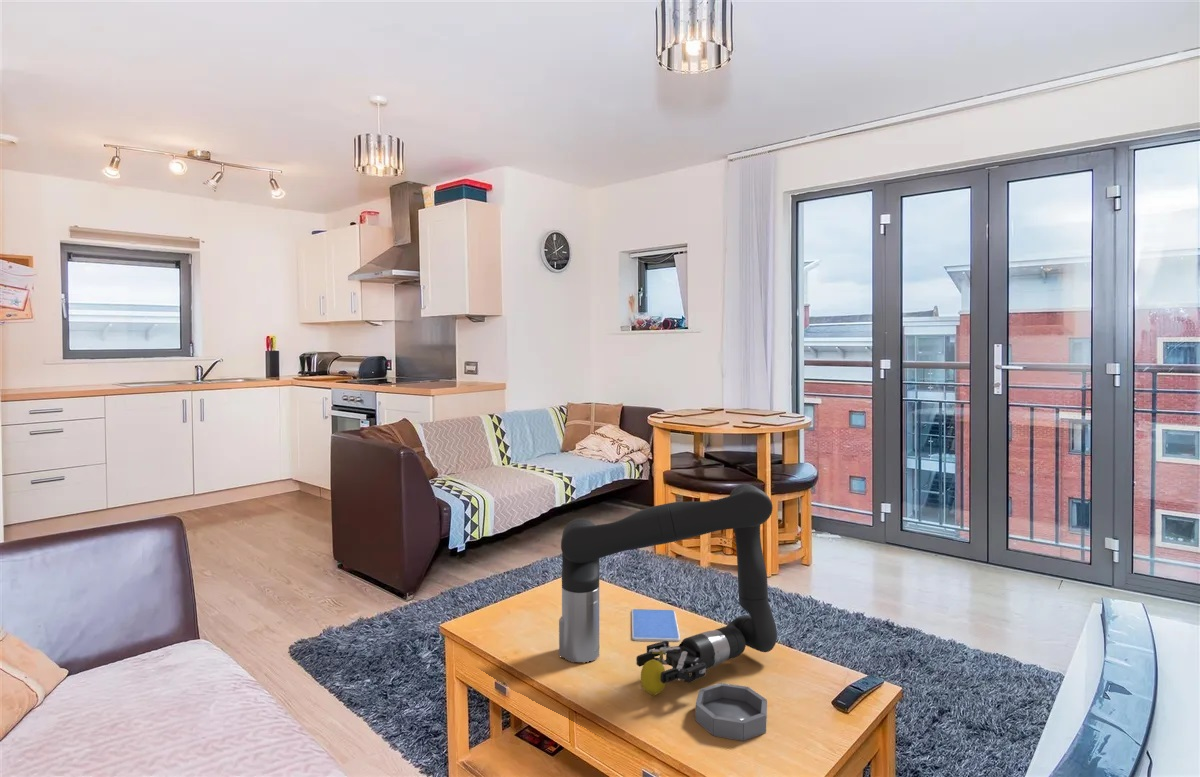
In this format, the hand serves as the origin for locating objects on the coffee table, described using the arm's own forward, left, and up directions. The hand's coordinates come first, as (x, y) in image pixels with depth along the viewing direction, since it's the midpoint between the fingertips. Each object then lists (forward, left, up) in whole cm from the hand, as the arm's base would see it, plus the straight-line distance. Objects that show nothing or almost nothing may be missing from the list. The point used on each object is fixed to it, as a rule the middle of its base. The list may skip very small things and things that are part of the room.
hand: (649, 669), depth 135 cm
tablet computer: (-6, +36, -7) cm, 37 cm away
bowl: (+18, -3, -6) cm, 19 cm away
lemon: (+1, +1, -6) cm, 6 cm away
